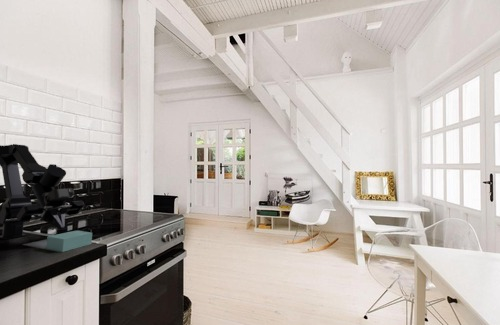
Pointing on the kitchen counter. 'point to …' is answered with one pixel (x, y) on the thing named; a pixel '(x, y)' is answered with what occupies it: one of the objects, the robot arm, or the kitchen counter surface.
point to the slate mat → (39, 244)
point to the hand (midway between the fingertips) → (62, 228)
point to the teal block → (69, 240)
